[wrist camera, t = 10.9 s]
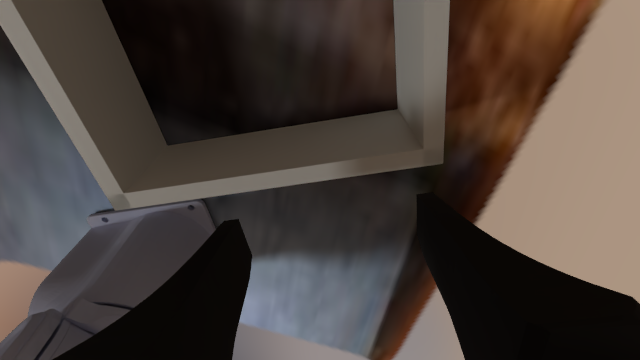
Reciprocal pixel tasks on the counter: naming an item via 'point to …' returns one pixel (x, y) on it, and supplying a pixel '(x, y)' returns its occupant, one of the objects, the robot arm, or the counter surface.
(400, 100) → the open box
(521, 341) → the robot arm
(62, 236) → the counter surface
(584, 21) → the counter surface
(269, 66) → the counter surface
